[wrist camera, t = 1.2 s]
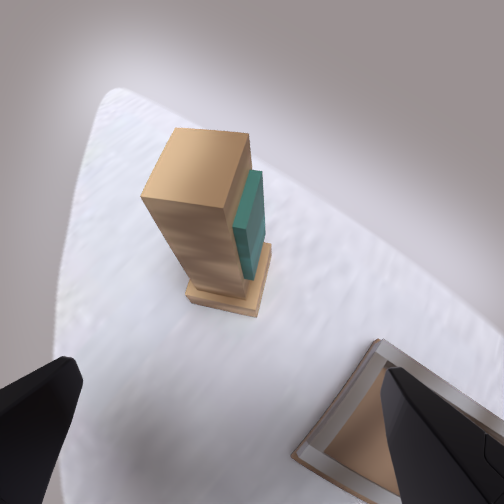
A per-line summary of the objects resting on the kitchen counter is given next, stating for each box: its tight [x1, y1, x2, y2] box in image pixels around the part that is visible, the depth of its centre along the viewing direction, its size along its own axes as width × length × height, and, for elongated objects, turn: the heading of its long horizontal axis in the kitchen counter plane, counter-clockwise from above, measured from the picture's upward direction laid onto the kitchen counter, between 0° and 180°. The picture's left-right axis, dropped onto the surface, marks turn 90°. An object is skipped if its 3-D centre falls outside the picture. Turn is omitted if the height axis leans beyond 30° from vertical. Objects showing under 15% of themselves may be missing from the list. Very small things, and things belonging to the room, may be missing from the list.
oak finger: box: [140, 128, 271, 317], centre depth 19 cm, size 5×5×13 cm
